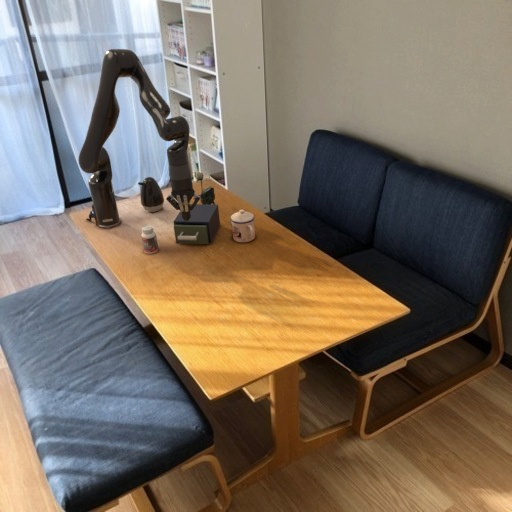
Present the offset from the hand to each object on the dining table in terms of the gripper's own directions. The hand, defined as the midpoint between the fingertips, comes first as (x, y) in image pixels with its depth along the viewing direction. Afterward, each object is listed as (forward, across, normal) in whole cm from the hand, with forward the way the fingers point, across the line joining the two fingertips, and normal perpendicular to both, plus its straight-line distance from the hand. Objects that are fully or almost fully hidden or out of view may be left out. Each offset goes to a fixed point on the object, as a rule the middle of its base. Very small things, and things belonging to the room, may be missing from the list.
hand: (186, 219), depth 188 cm
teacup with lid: (+12, -20, -9) cm, 25 cm away
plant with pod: (+12, +2, -31) cm, 33 cm away
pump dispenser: (+12, +27, -34) cm, 45 cm away
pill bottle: (+12, +15, +2) cm, 19 cm away
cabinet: (+12, 0, -12) cm, 17 cm away
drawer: (+11, 0, -7) cm, 13 cm away
